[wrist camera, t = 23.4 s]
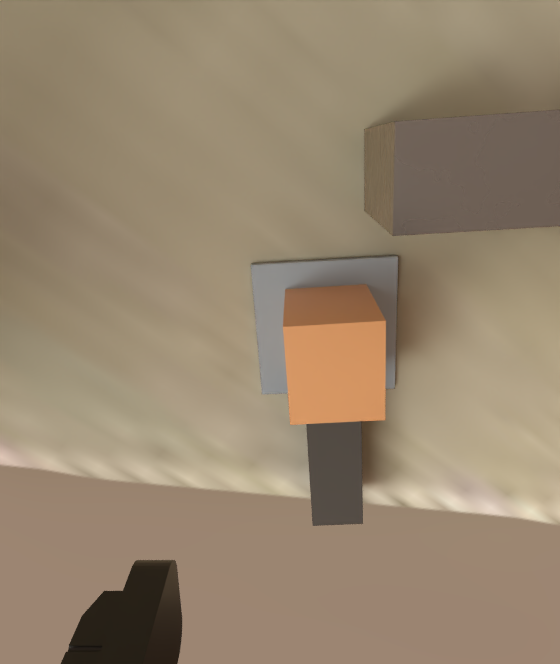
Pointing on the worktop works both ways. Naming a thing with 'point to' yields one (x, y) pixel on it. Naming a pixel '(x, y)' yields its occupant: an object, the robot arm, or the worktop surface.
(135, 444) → the worktop surface
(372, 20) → the worktop surface
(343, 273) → the mat
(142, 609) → the robot arm
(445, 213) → the block
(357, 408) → the plug
